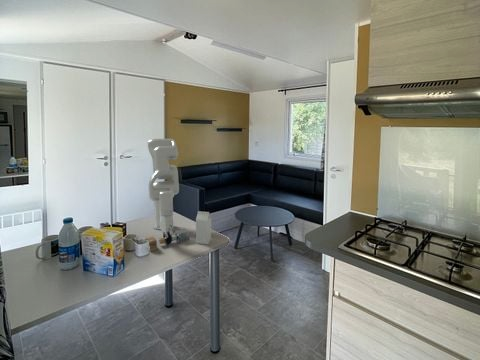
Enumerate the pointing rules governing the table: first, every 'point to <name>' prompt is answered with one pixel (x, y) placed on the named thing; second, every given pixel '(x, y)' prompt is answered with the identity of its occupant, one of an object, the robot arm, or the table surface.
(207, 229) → the milk carton
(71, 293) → the table surface
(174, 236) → the tube
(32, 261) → the table surface
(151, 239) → the socket block
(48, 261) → the table surface
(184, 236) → the sleeve
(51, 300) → the table surface
